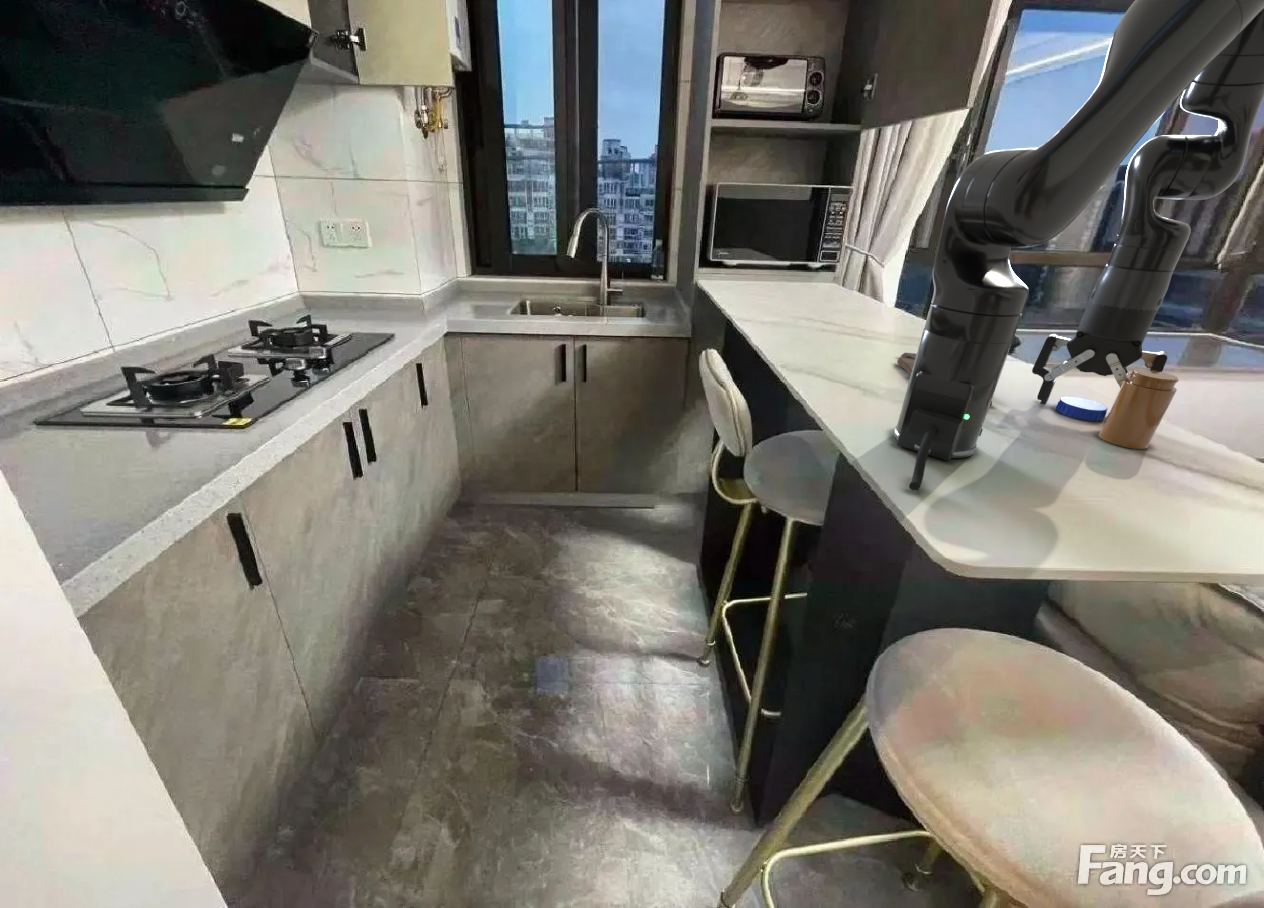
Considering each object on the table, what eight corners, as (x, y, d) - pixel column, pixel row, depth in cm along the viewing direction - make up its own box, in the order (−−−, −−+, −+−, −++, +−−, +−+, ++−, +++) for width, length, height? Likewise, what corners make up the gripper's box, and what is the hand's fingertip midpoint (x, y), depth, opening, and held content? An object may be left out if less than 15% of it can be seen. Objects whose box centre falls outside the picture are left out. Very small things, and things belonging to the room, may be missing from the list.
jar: (1146, 452, 70) (1182, 383, 66) (1096, 440, 73) (1127, 373, 69) (1148, 441, 73) (1182, 374, 69) (1100, 429, 76) (1130, 365, 72)
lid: (1094, 410, 83) (1098, 399, 83) (1110, 423, 79) (1115, 413, 78) (1050, 404, 85) (1054, 394, 84) (1063, 417, 80) (1068, 406, 79)
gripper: (1193, 307, 73) (1138, 418, 80) (1065, 291, 81) (1026, 393, 89) (1193, 314, 68) (1135, 432, 75) (1057, 297, 76) (1017, 404, 84)
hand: (1076, 411), depth 82 cm, fingers open, 8 cm apart
